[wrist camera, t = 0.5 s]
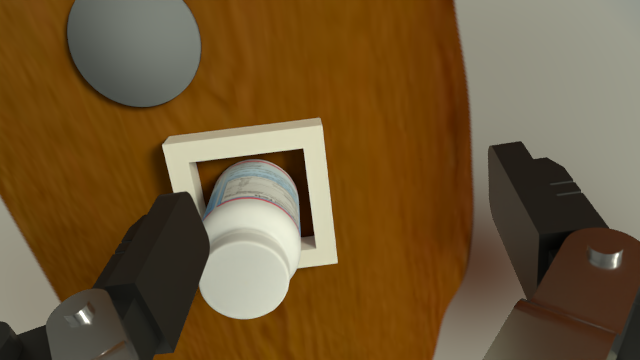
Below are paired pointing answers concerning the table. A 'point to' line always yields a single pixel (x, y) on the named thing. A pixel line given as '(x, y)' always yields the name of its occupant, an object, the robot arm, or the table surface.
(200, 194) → the holder
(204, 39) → the table surface
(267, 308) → the pill bottle
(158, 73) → the coaster
